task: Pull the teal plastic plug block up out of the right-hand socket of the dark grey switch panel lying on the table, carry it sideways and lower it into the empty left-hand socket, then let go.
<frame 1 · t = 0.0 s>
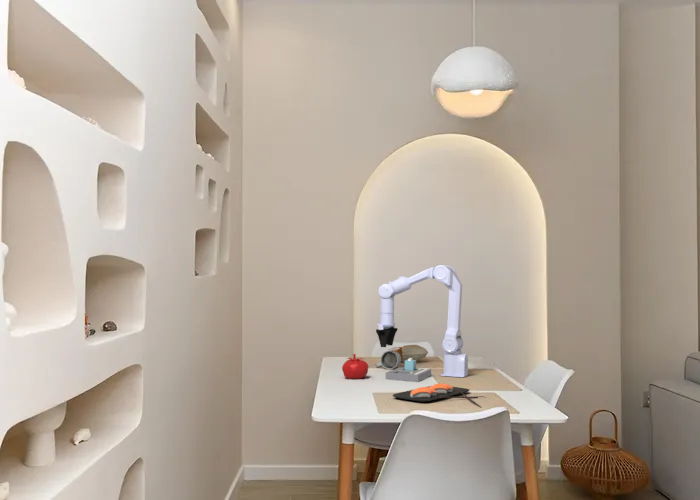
hand: (386, 346, 302), 10 cm above the table, fingers open, 7 cm apart
sushi plate: (451, 401, 240), on the table
nautilus: (405, 362, 331), on the table
panel: (408, 377, 285), on the table
red round piece: (355, 378, 282), on the table
ceramic mug: (388, 368, 310), on the table
plug: (410, 375, 290), resting in panel
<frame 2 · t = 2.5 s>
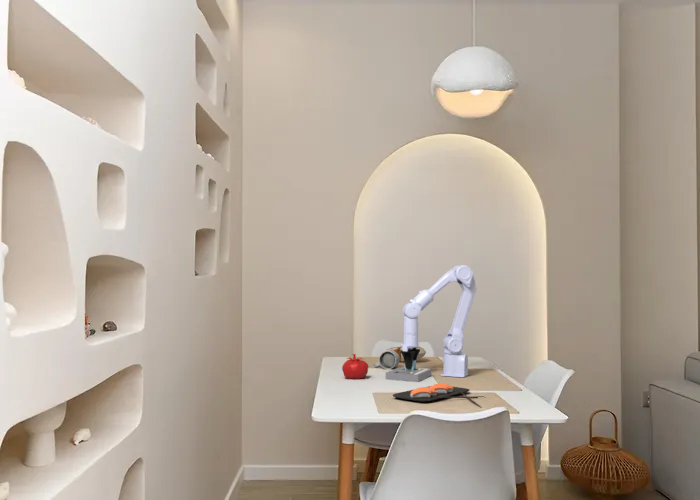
hand: (410, 367, 290), 3 cm above the table, fingers closed on plug, 4 cm apart
plug: (410, 375, 290), resting in panel, touching gripper
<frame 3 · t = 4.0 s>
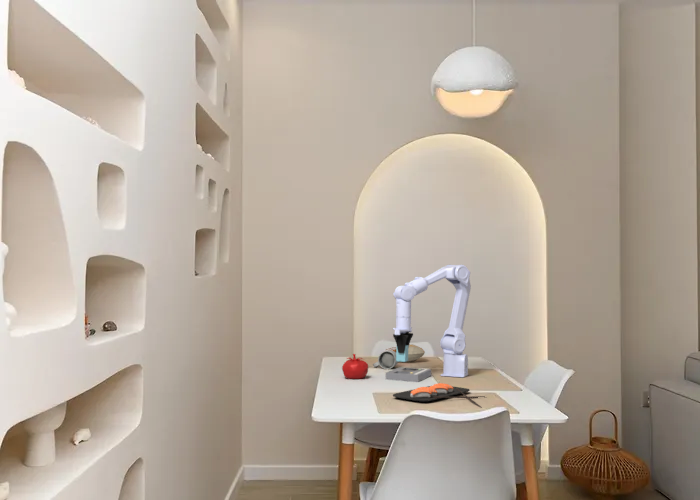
hand: (402, 352, 281), 10 cm above the table, fingers closed on plug, 4 cm apart
plug: (402, 360, 282), point 7 cm above the table, touching gripper
when the fingers open (4 cm above the table, at t = 5.6 s): plug stays where it is, resting in panel.
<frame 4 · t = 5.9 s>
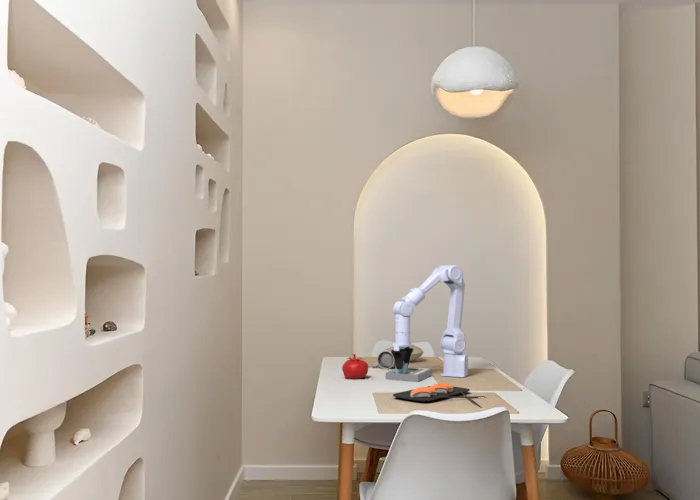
hand: (402, 368, 281), 4 cm above the table, fingers open, 6 cm apart
plug: (401, 379, 281), resting in panel
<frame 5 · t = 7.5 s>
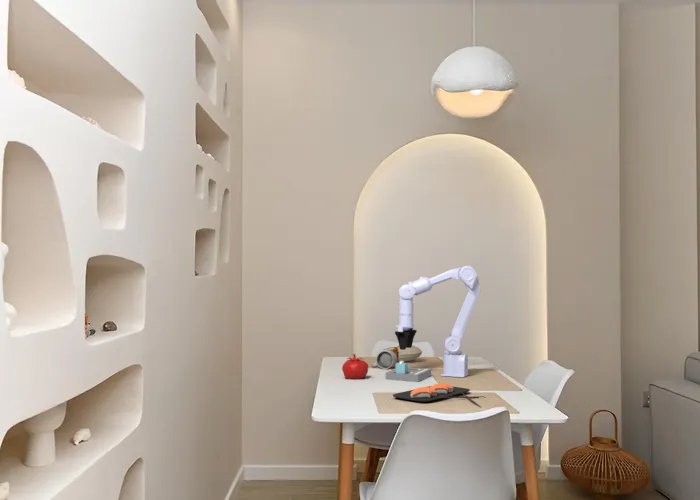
hand: (405, 348, 294), 10 cm above the table, fingers open, 7 cm apart
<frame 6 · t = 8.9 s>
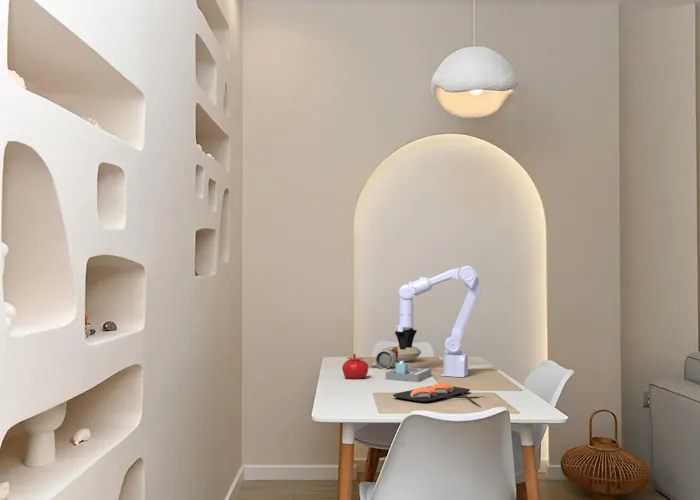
hand: (405, 348, 294), 10 cm above the table, fingers open, 7 cm apart
at the end: plug 0.2 cm from the target spot on the panel, point 0.0 cm above the panel's base; plug tilted 0°; the gripper is holding nothing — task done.
